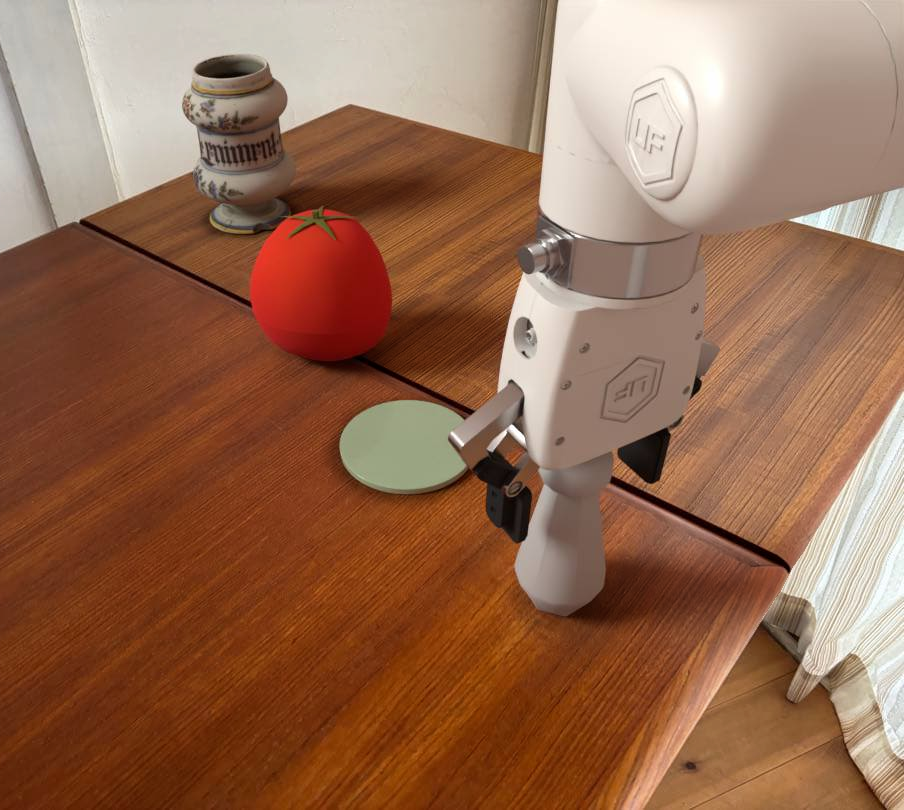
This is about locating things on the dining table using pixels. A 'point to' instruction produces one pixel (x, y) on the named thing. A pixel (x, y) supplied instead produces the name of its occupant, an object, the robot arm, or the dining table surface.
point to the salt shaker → (566, 538)
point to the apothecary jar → (240, 142)
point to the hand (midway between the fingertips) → (573, 496)
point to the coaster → (402, 447)
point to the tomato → (321, 287)
